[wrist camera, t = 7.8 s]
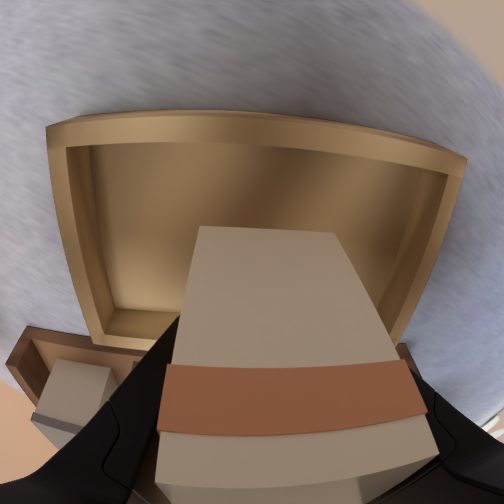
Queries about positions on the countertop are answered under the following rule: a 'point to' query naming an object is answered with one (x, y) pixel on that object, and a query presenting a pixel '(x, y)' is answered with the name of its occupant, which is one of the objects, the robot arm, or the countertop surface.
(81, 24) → the countertop surface
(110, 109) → the countertop surface
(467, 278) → the countertop surface
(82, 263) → the tray
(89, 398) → the block
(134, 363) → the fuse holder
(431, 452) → the beige striped box
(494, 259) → the countertop surface
